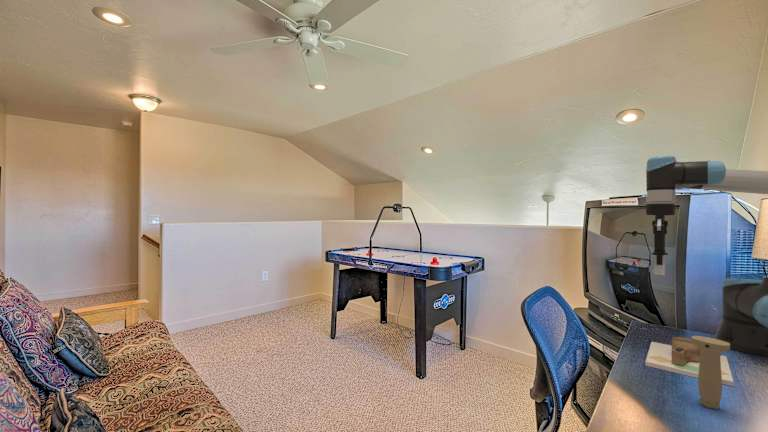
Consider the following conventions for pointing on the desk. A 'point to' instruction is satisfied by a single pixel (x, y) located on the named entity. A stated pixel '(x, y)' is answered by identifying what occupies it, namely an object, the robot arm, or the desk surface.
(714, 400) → the handle
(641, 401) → the desk surface
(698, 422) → the desk surface
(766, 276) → the robot arm
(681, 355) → the brown frying pan
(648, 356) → the board
